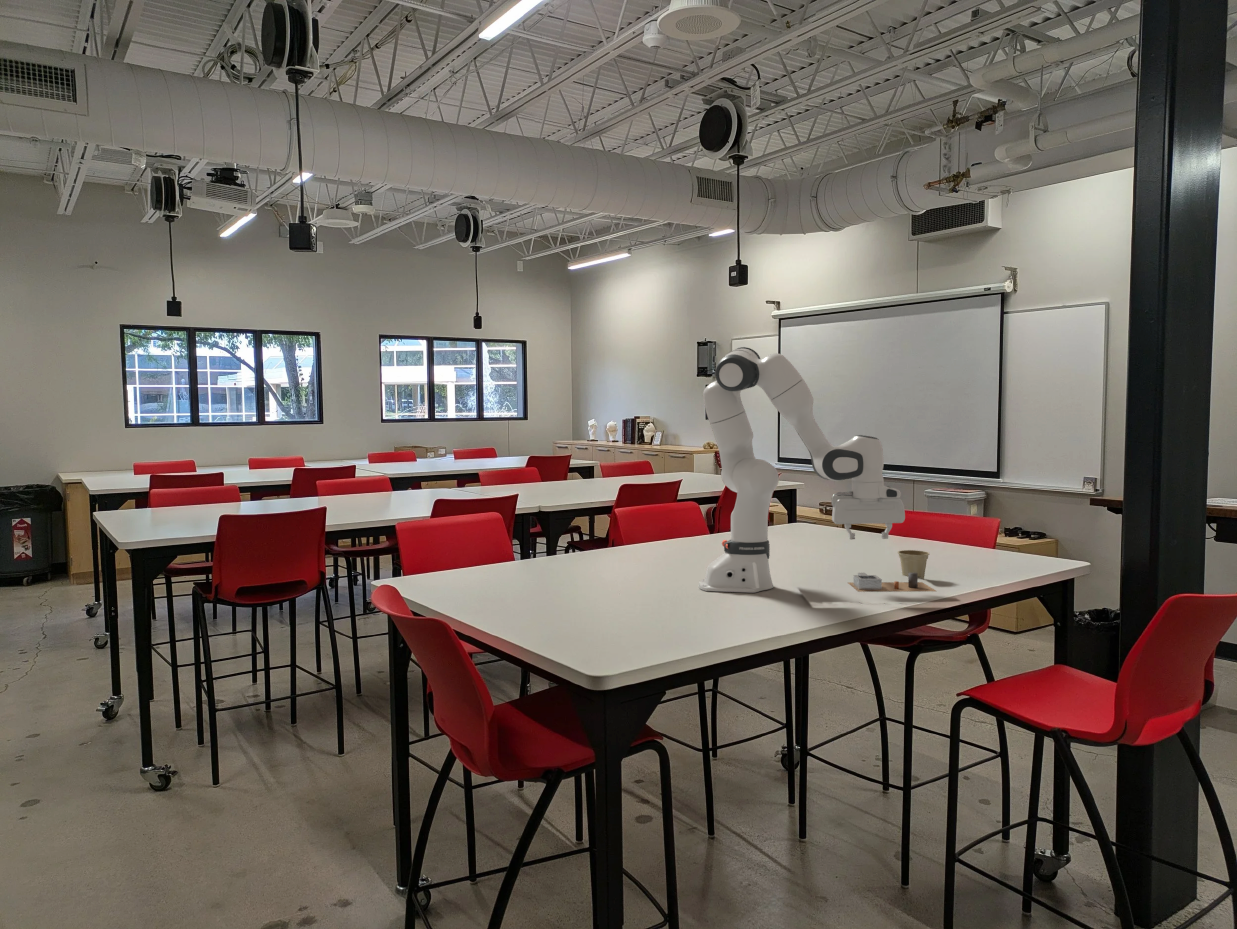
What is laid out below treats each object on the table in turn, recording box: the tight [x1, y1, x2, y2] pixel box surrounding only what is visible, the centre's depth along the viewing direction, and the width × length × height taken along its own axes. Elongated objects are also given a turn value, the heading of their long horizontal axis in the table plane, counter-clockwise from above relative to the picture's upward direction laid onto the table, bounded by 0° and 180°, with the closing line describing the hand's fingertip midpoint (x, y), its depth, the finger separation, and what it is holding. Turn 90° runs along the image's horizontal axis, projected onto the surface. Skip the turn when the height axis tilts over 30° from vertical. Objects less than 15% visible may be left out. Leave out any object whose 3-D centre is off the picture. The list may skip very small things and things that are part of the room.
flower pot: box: [897, 549, 930, 580], centre depth 253 cm, size 9×9×9 cm
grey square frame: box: [853, 572, 883, 590], centre depth 237 cm, size 10×6×3 cm, turn 177°
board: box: [847, 572, 937, 593], centre depth 236 cm, size 22×13×6 cm, turn 87°
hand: (868, 538), depth 235 cm, fingers open, 8 cm apart
